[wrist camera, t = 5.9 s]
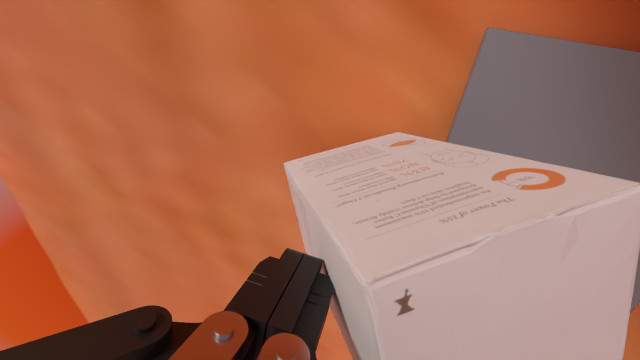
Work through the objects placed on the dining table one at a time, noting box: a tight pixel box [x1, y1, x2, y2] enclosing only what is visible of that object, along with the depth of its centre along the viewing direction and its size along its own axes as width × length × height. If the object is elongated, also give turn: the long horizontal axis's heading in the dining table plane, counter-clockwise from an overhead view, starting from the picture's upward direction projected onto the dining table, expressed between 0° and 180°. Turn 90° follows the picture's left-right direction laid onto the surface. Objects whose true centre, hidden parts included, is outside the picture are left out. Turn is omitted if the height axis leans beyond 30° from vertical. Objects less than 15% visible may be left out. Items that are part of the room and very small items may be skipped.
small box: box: [284, 132, 640, 360], centre depth 14 cm, size 8×6×13 cm
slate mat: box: [446, 28, 640, 313], centre depth 19 cm, size 22×14×1 cm, turn 169°
